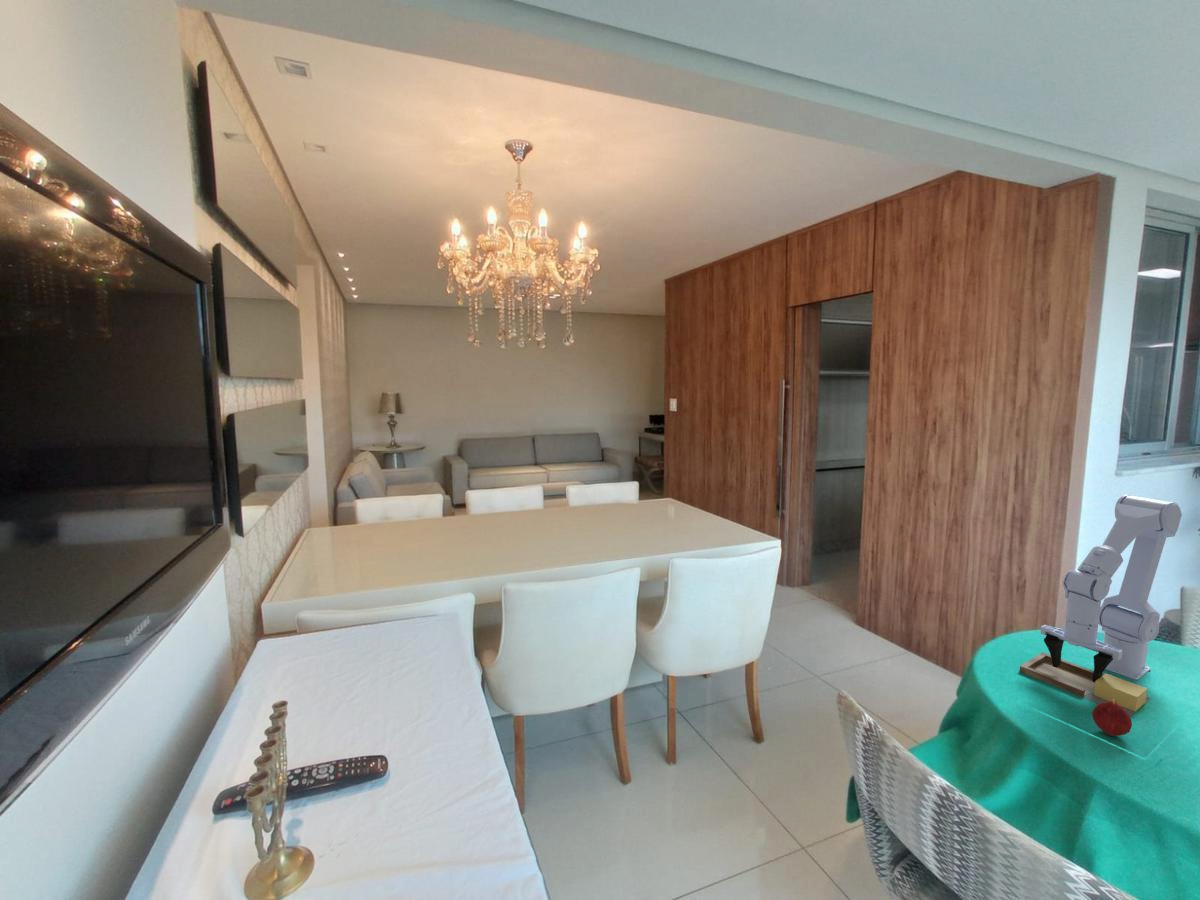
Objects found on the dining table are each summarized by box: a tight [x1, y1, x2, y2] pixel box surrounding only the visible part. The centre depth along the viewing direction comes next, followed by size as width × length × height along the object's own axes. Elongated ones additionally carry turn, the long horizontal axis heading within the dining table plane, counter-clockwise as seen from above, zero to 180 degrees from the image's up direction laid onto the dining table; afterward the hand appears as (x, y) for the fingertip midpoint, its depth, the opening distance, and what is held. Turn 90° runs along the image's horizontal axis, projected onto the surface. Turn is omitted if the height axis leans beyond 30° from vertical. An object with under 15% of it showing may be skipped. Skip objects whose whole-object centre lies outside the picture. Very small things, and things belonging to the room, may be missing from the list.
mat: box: [1082, 688, 1151, 718], centre depth 119 cm, size 12×8×1 cm, turn 119°
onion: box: [1091, 698, 1133, 737], centre depth 107 cm, size 6×6×8 cm
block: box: [1094, 673, 1148, 713], centre depth 118 cm, size 6×7×4 cm
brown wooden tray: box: [1019, 651, 1105, 698], centre depth 128 cm, size 12×12×2 cm
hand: (1075, 673), depth 125 cm, fingers open, 7 cm apart
